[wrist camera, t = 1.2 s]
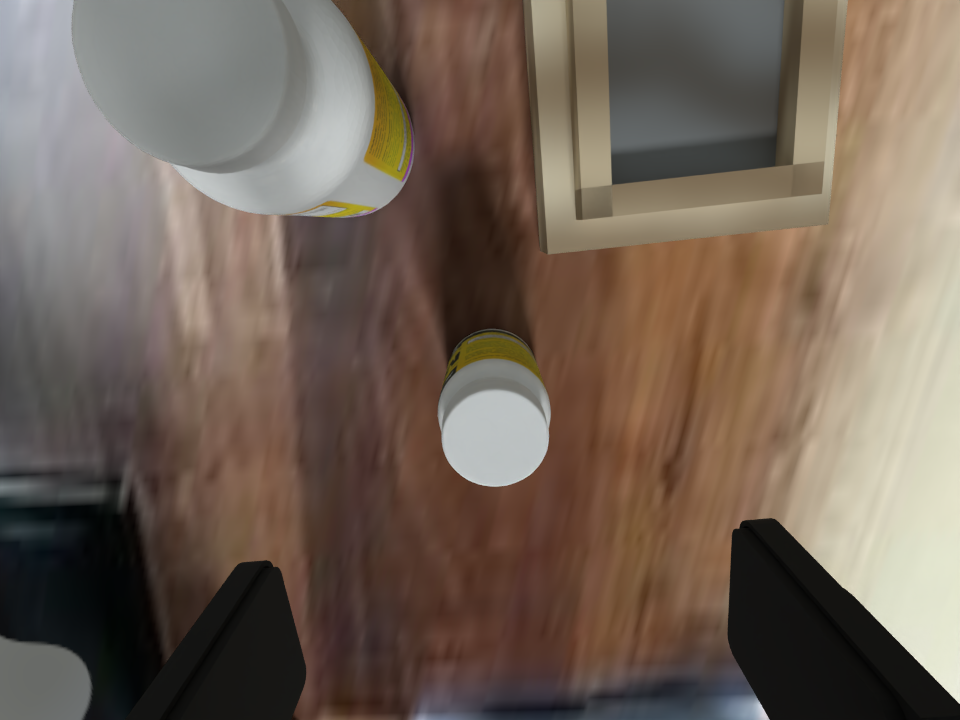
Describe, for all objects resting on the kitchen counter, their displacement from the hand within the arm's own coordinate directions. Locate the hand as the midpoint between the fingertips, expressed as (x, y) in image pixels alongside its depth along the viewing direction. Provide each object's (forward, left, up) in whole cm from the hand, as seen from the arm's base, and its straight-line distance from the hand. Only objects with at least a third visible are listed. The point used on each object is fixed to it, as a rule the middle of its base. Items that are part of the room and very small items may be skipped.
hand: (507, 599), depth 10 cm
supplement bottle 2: (0, 0, -17) cm, 17 cm away
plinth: (+12, -9, -16) cm, 22 cm away
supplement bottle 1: (+12, +6, -17) cm, 21 cm away
